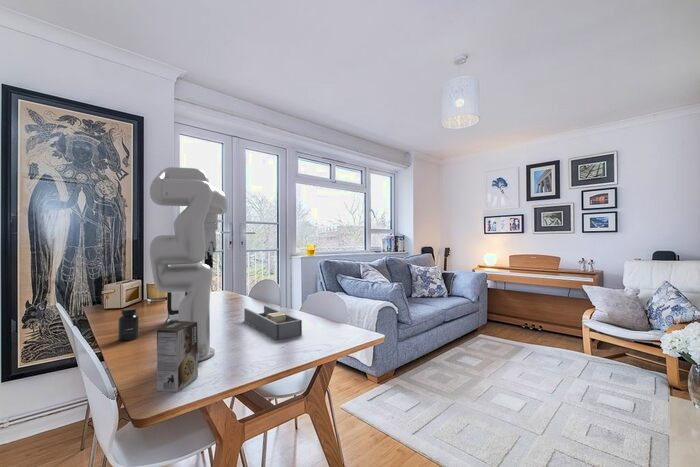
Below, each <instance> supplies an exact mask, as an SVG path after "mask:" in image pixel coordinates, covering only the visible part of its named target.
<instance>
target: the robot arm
mask: <svg viewBox="0 0 700 467" xmlns="http://www.w3.org/2000/svg"><path fill="white" fill-rule="evenodd" d="M149 196H150V199H151V200H152V202H153V203H154V204H155V205H158V206H164V207H166V206H167V207H174V206H175V207H185V208H184V209H183V210H181V212H180V213H179V214H178V215H177V217H175V220H173V229H174V230H173V231H174V234H162V235H161V234H160V235H156V236H155V237H153V238H152V240H151V242H150V244H149V260H150V267H151V271H152V279H153V283H154V284H153V285H154V286H155V289H156V290H157V291H158V292H160V293H166V294H167V293H168V292H187V293H188V294H187V295H186V296H185V297H184V298H183V300H182V301H181V302H180V304H179V321H189V322H197V334H198V362H201V361H204V360H208V359H211V357H213V356H214V355H215V352H216V351H215V348H213V347H211V346H210V345H211V340H210V339H211V338H210V336H211V335H210V334H211V333H210V328H211V327H210V326H211V324H210V322H211V320H210V318H211V316H210V313H211V312H210V311H211V310H210V306H211V305H210V304H211V303H210V302H211V301H210V300H211V299H210V298H211V289H212V288H211V287H212V281H213V268H214V253H215V252H216V251H217V231H218V230H219V229H218V226H219V225H218V222H219V221H218V219H219V218H218V215H224V214H226V213H227V211H228V208H229V204H228V199H227V196H226V194H225V193H224V192H223V191H222V190H221V189H218V188H216V187H214V186H212V185H211V183H210V181H209V178H208V176H207V173H205V171H203V170H202V169H198V168H195V167H177V166H176V167H175V166H173V167H172V166H171V167H170V166H169V167H166V168H164V169H163V170H161V171H160V172H159V173H157V175H156V177H154V178H153V180H152V181H151V184H150V186H149ZM203 260H204V262H203V263H202V261H203Z"/></svg>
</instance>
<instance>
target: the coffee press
mask: <svg viewBox="0 0 700 467" xmlns="http://www.w3.org/2000/svg"><path fill="white" fill-rule="evenodd" d="M187 294H188V293H187V292H168V293H166V302H167V303H166V305H167V306H166V308H167V310H166V311H167V318H166V320H165V322H164V323H165V324H166V325H170V323H171V322H172V321H174V322H177V321H179V304H180V302H181V301H182V300H183V298H184V297H185V296H186V295H187Z"/></svg>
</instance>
